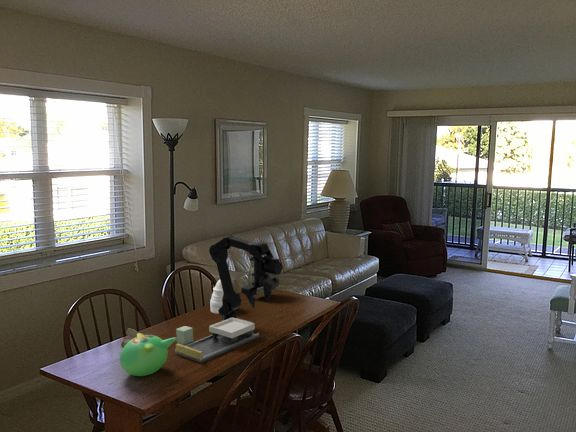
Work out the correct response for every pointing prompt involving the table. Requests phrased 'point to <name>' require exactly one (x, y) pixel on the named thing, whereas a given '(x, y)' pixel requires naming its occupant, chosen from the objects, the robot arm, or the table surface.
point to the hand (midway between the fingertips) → (260, 305)
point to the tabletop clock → (251, 279)
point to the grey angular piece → (131, 333)
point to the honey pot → (216, 298)
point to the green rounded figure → (145, 354)
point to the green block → (184, 335)
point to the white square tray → (232, 328)
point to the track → (211, 347)
